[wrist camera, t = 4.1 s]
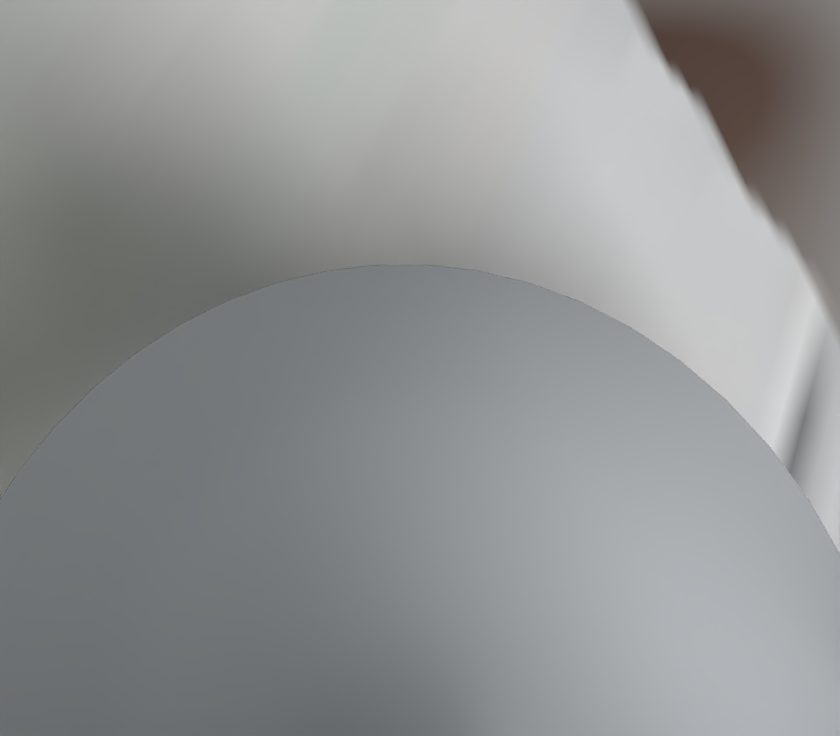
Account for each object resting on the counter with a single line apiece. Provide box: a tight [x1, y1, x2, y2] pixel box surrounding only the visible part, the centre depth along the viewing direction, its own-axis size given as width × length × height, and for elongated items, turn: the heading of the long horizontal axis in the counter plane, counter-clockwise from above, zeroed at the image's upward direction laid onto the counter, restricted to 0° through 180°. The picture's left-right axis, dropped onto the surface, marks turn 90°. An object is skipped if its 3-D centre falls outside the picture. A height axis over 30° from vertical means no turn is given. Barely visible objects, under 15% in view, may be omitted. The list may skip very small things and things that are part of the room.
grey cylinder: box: [0, 265, 840, 736], centre depth 9 cm, size 6×6×12 cm
